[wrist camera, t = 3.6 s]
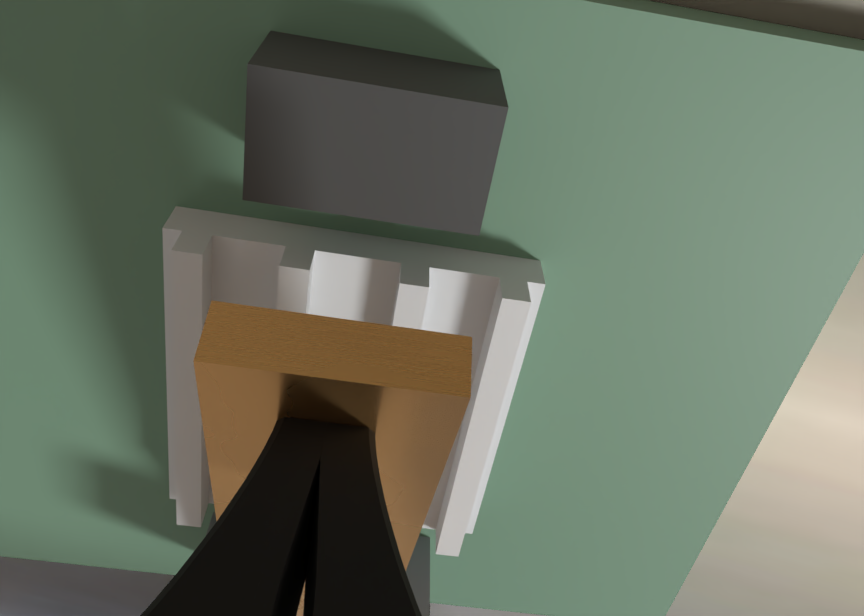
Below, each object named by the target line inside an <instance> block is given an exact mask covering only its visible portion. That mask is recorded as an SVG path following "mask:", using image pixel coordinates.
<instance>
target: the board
mask: <svg viewBox="0 0 864 616" xmlns="http://www.w3.org/2000/svg"><path fill="white" fill-rule="evenodd" d="M863 253H864V40H862V39H856V38H851V37H845V36H840V35H834V34H829V33H823V32H818V31H812V30H807V29H802V28H796V27H791V26H785V25H780V24H774V23H769V22H763V21H758V20H752V19H747V18H741V17H736V16H730V15H725V14H720V13H714V12H709V11H703V10H698V9H692V8H687V7H681V6H676V5H670V4H665V3H659V2H654V1H648V0H0V556H2V557H11V558H21V559H30V560H39V561H48V562H58V563H67V564H76V565H85V566H95V567H104V568H113V569H122V570H132V571H141V572H150V573H159V574H169V575H176V574H177V572H178V571H179V570H180V569H181V567H182V566H183V565H184V564H185V562H186V561H187V560H188V558H189V557H190V556H191V555H192V553H193V552H194V551H195V549H196V548H197V547H198V546H199V544H200V543H201V542H202V540H203V539H204V538H205V537H206V535H207V534H208V533H209V531H210V530H211V529H212V527H213V526H214V525H215V523H216V522H217V521H216V514H215V507H214V501H213V494H212V487H211V480H210V473H209V466H208V459H207V452H206V445H205V438H204V431H203V425H202V418H201V411H200V404H199V397H198V390H197V383H196V376H195V369H194V362H193V360H194V357H195V354H196V350H197V347H198V344H199V340H200V337H201V334H202V330H203V327H204V324H205V320H206V317H207V314H208V310H209V307H210V304H211V300H212V301H219V302H226V303H234V304H241V305H248V306H255V307H262V308H269V309H277V310H284V311H291V312H298V313H305V314H312V315H320V316H327V317H334V318H341V319H348V320H355V321H362V322H370V323H377V324H384V325H391V326H398V327H405V328H413V329H420V330H427V331H434V332H441V333H448V334H455V335H463V336H470V337H472V366H471V398H470V401H469V404H468V406H467V409H466V412H465V414H464V417H463V420H462V422H461V425H460V428H459V430H458V433H457V436H456V438H455V441H454V444H453V446H452V449H451V452H450V454H449V457H448V460H447V462H446V465H445V468H444V470H443V473H442V476H441V478H440V481H439V484H438V486H437V489H436V492H435V494H434V497H433V500H432V502H431V505H430V508H429V510H428V513H427V516H426V518H425V521H424V524H423V526H422V529H421V532H420V534H419V537H418V540H417V542H416V545H415V548H414V550H413V553H412V556H411V558H410V561H409V564H408V566H407V569H406V574H407V577H408V580H409V582H410V585H411V588H412V591H413V594H414V596H415V599H416V602H417V605H418V607H419V610H420V612H421V615H422V616H430V603H437V604H446V605H455V606H465V607H474V608H483V609H492V610H502V611H511V612H520V613H529V614H539V615H548V616H665V615H666V614H667V612H668V610H669V608H670V606H671V604H672V603H673V601H674V599H675V597H676V595H677V593H678V592H679V590H680V588H681V586H682V584H683V583H684V581H685V579H686V577H687V575H688V573H689V572H690V570H691V568H692V566H693V564H694V562H695V561H696V559H697V557H698V555H699V553H700V551H701V550H702V548H703V546H704V544H705V542H706V540H707V539H708V537H709V535H710V533H711V531H712V529H713V528H714V526H715V524H716V522H717V520H718V518H719V517H720V515H721V513H722V511H723V509H724V508H725V506H726V504H727V502H728V500H729V498H730V497H731V495H732V493H733V491H734V489H735V487H736V486H737V484H738V482H739V480H740V478H741V476H742V475H743V473H744V471H745V469H746V467H747V465H748V464H749V462H750V460H751V458H752V456H753V454H754V453H755V451H756V449H757V447H758V445H759V443H760V442H761V440H762V438H763V436H764V434H765V433H766V431H767V429H768V427H769V425H770V423H771V422H772V420H773V418H774V416H775V414H776V412H777V411H778V409H779V407H780V405H781V403H782V401H783V400H784V398H785V396H786V394H787V392H788V390H789V389H790V387H791V385H792V383H793V381H794V379H795V378H796V376H797V374H798V372H799V370H800V368H801V367H802V365H803V363H804V361H805V359H806V358H807V356H808V354H809V352H810V350H811V348H812V347H813V345H814V343H815V341H816V339H817V337H818V336H819V334H820V332H821V330H822V328H823V326H824V325H825V323H826V321H827V319H828V317H829V315H830V314H831V312H832V310H833V308H834V306H835V304H836V303H837V301H838V299H839V297H840V295H841V294H842V292H843V290H844V288H845V286H846V284H847V283H848V281H849V279H850V277H851V275H852V273H853V272H854V270H855V268H856V266H857V264H858V262H859V261H860V259H861V257H862V255H863Z"/></svg>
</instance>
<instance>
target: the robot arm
mask: <svg viewBox="0 0 864 616" xmlns="http://www.w3.org/2000/svg"><path fill="white" fill-rule="evenodd" d="M304 583H305V594H304V610H303V616H422V615H421V612H420V610H419V607H418V605H417V602H416V599H415V596H414V594H413V591H412V588H411V585H410V582H409V580H408V577H407V574H406V571H405V568H404V565H403V562H402V559H401V556H400V552H399V549H398V546H397V542H396V539H395V535H394V532H393V528H392V525H391V521H390V518H389V514H388V510H387V506H386V502H385V498H384V493H383V488H382V484H381V479H380V473H379V467H378V461H377V453H376V441H375V432H373V431H372V430H371V429H370V428H368V427H360V426H352V425H344V424H336V423H328V422H320V421H312V420H305V419H297V418H289V417H283V418H281V419H279V420H277V421H276V424H275V426H274V428H273V431H272V433H271V435H270V437H269V439H268V441H267V443H266V445H265V447H264V449H263V450H262V452H261V454H260V456H259V457H258V459H257V461H256V463H255V464H254V466H253V468H252V469H251V471H250V472H249V474H248V476H247V477H246V479H245V481H244V482H243V484H242V485H241V487H240V488H239V490H238V491H237V493H236V494H235V496H234V497H233V498H232V500H231V501H230V503H229V504H228V506H227V507H226V509H225V510H224V512H223V513H222V515H221V516H220V517H219V519H218V520H217V522H216V523H215V525H214V526H213V527H212V529H211V530H210V531H209V533H208V534H207V535H206V537H205V538H204V539H203V540H202V542H201V543H200V544H199V546H198V547H197V548H196V549H195V551H194V552H193V553H192V555H191V556H190V557H189V558H188V560H187V561H186V562H185V564H184V565H183V566H182V567H181V569H180V570H179V571H178V572H177V574H176V575H175V576H174V577H173V579H172V580H171V581H170V582H169V583H168V585H167V586H166V587H165V588H164V589H163V590H162V592H161V593H160V594H159V595H158V596H157V598H156V599H155V600H154V601H153V602H152V603H151V604H150V606H149V607H148V608H147V609H146V610H145V611H144V612H143V613H142V614H141V616H296V615H297V611H298V607H299V603H300V599H301V595H302V591H303V587H304Z"/></svg>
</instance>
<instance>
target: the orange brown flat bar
mask: <svg viewBox="0 0 864 616" xmlns="http://www.w3.org/2000/svg"><path fill="white" fill-rule="evenodd" d="M193 362H194V369H195V376H196V383H197V390H198V397H199V404H200V411H201V418H202V425H203V431H204V438H205V445H206V452H207V459H208V466H209V473H210V480H211V487H212V494H213V501H214V507H215V514H216V521H217V520H218V519H219V517H220V516H221V515H222V513H223V512H224V510H225V509H226V507H227V506H228V504H229V503H230V501H231V500H232V498H233V497H234V496H235V494H236V493H237V491H238V490H239V488H240V487H241V485H242V484H243V482H244V481H245V479H246V477H247V476H248V474H249V472H250V471H251V469H252V468H253V466H254V464H255V463H256V461H257V459H258V457H259V456H260V454H261V452H262V450H263V449H264V447H265V445H266V443H267V441H268V439H269V437H270V435H271V433H272V431H273V428H274V426H275V424H276V421H277V420H279V419H281V418H283V417H289V418H297V419H305V420H312V421H320V422H328V423H336V424H344V425H352V426H360V427H368V428H370V429H371V430H372V431H373V432H375V441H376V453H377V461H378V467H379V473H380V479H381V484H382V488H383V493H384V498H385V502H386V506H387V510H388V514H389V518H390V521H391V525H392V528H393V532H394V535H395V539H396V542H397V546H398V549H399V552H400V556H401V559H402V562H403V565H404V568H405V571H406V569H407V566H408V564H409V561H410V558H411V556H412V553H413V550H414V548H415V545H416V542H417V540H418V537H419V534H420V532H421V529H422V526H423V524H424V521H425V518H426V516H427V513H428V510H429V508H430V505H431V502H432V500H433V497H434V494H435V492H436V489H437V486H438V484H439V481H440V478H441V476H442V473H443V470H444V468H445V465H446V462H447V460H448V457H449V454H450V452H451V449H452V446H453V444H454V441H455V438H456V436H457V433H458V430H459V428H460V425H461V422H462V420H463V417H464V414H465V412H466V409H467V406H468V404H469V401H470V398H471V366H472V337H470V336H463V335H455V334H448V333H441V332H434V331H427V330H420V329H413V328H405V327H398V326H391V325H384V324H377V323H370V322H362V321H355V320H348V319H341V318H334V317H327V316H320V315H312V314H305V313H298V312H291V311H284V310H277V309H269V308H262V307H255V306H248V305H241V304H234V303H226V302H219V301H212V300H211V304H210V307H209V310H208V314H207V317H206V320H205V324H204V327H203V330H202V334H201V337H200V340H199V344H198V347H197V350H196V354H195V357H194V360H193ZM304 594H305V583H304V587H303V591H302V595H301V599H300V603H299V607H298V611H297V615H296V616H303V610H304Z"/></svg>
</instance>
